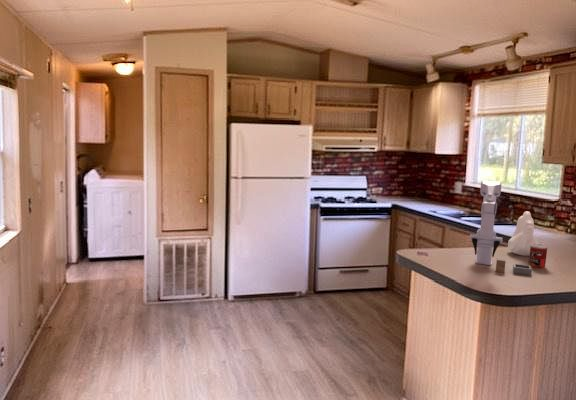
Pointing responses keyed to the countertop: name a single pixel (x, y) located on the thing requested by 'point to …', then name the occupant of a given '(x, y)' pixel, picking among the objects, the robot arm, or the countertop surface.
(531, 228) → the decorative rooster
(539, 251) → the canned food
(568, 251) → the countertop surface
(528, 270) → the well
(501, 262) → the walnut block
